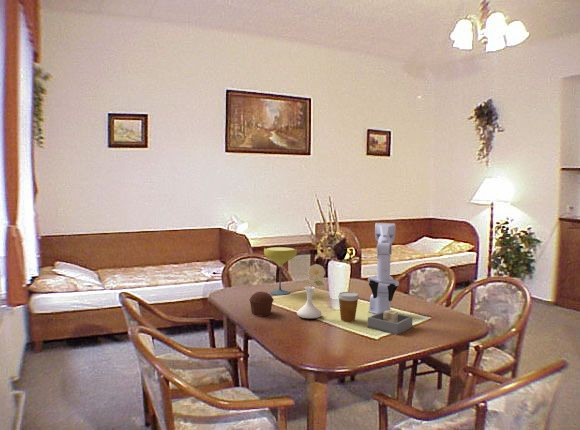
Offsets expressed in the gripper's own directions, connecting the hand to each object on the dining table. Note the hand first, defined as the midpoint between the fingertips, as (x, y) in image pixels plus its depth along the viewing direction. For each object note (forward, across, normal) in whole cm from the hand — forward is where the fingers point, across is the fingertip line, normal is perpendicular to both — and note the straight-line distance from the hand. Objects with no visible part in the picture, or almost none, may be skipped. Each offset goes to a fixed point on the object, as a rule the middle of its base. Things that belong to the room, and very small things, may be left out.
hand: (382, 299), depth 215 cm
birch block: (+10, +6, -4) cm, 12 cm away
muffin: (+11, -49, -27) cm, 57 cm away
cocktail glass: (+10, -69, +9) cm, 71 cm away
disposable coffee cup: (+11, -13, -8) cm, 19 cm away
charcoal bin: (+10, +6, -4) cm, 13 cm away
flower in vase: (+11, -28, -16) cm, 34 cm away
